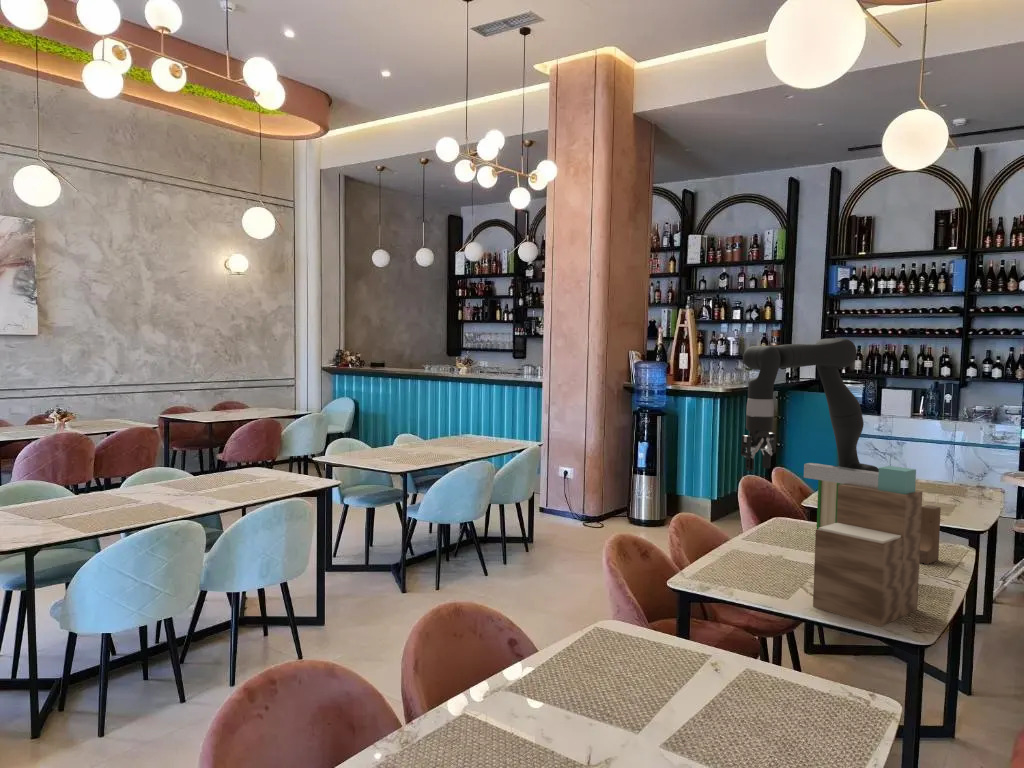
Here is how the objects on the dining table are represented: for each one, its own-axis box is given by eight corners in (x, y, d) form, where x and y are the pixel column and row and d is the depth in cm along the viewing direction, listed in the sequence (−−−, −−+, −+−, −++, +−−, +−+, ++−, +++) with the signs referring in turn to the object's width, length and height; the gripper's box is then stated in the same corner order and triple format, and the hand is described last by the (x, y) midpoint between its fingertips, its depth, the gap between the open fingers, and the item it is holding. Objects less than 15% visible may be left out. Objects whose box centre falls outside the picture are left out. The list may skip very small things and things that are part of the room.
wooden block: (927, 565, 240) (929, 510, 239) (912, 561, 244) (914, 507, 243) (938, 560, 246) (941, 507, 245) (924, 557, 249) (926, 504, 248)
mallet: (812, 475, 219) (813, 455, 218) (915, 491, 196) (916, 469, 196) (801, 477, 215) (802, 457, 215) (904, 494, 192) (905, 471, 192)
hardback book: (837, 544, 264) (839, 478, 263) (816, 540, 269) (818, 475, 268) (853, 535, 277) (855, 472, 276) (833, 532, 282) (835, 470, 281)
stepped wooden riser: (851, 591, 212) (855, 481, 211) (917, 609, 198) (922, 491, 196) (812, 606, 199) (817, 489, 198) (880, 626, 185) (885, 500, 183)
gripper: (762, 412, 222) (760, 465, 223) (734, 414, 213) (732, 469, 214) (785, 414, 216) (783, 469, 217) (757, 416, 207) (755, 473, 208)
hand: (758, 469), depth 215 cm, fingers open, 8 cm apart
